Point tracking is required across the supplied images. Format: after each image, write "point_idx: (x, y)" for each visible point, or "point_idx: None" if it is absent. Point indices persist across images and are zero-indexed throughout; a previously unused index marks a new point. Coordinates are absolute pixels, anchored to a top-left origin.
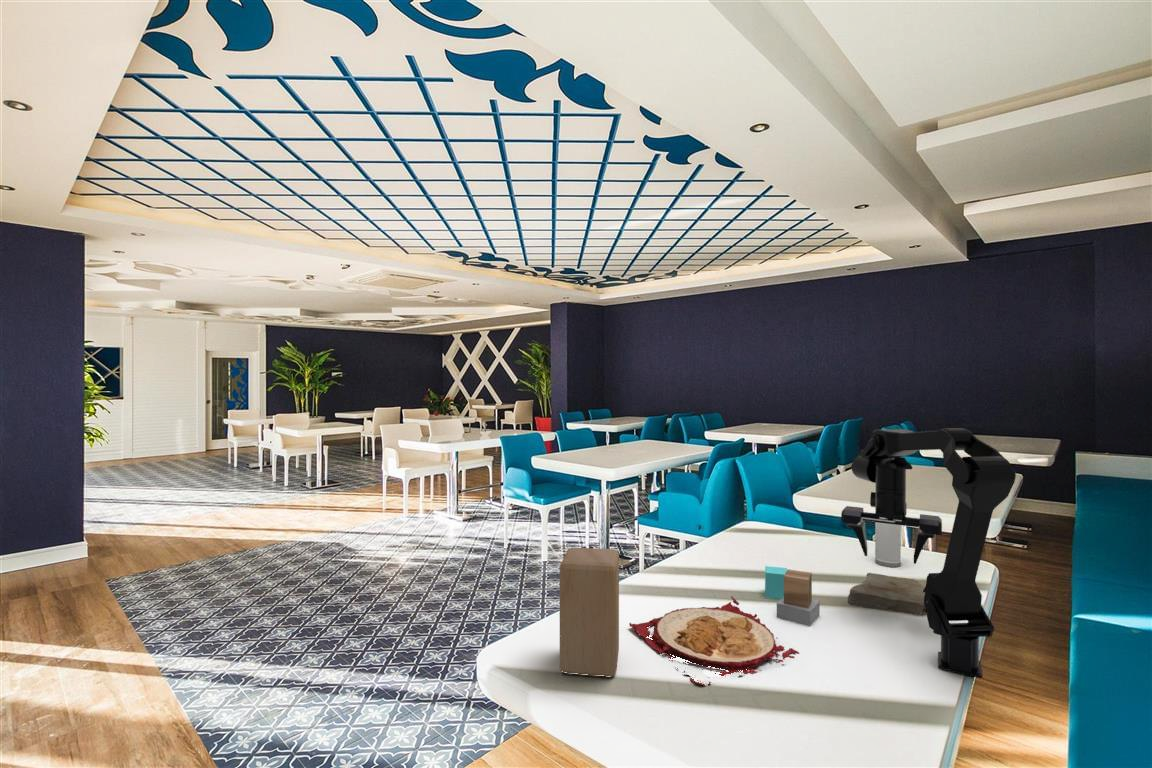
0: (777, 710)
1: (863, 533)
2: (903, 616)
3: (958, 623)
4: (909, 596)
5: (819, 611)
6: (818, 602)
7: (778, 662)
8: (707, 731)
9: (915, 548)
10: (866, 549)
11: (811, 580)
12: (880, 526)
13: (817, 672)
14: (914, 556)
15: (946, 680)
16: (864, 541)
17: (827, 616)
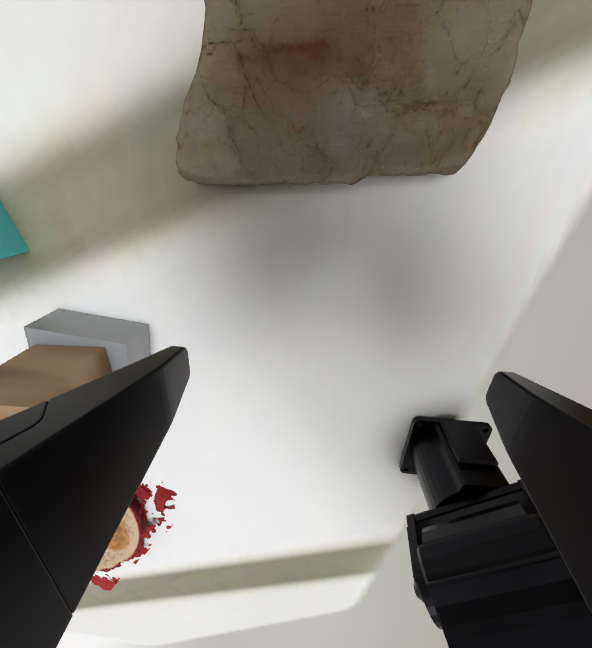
0: (200, 593)
1: (54, 641)
2: (369, 210)
3: (488, 503)
4: (416, 112)
5: (142, 329)
6: (127, 355)
7: (160, 524)
8: (158, 624)
9: (566, 561)
10: (167, 428)
11: (56, 392)
12: None
13: (217, 528)
14: (515, 461)
15: (402, 492)
16: (120, 518)
17: (168, 322)
